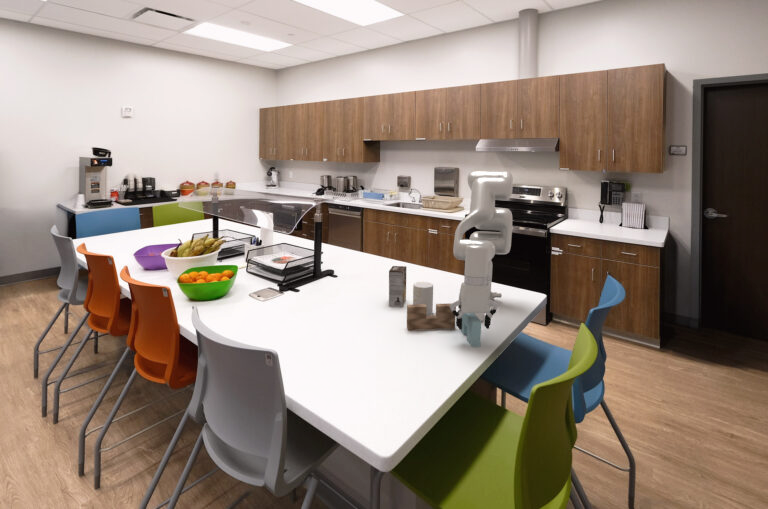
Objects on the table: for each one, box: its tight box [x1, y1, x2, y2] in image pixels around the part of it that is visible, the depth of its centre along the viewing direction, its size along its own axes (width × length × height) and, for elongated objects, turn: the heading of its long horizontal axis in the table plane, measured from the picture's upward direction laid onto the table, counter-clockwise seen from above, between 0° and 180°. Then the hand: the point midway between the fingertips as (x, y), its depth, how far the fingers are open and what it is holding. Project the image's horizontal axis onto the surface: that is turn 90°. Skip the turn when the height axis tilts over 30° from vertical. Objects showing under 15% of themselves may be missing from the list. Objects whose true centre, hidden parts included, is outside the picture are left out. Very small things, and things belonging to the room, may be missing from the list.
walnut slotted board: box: [406, 302, 457, 331], centre depth 167 cm, size 18×3×9 cm, turn 95°
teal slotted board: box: [459, 313, 482, 348], centre depth 158 cm, size 3×16×9 cm, turn 5°
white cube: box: [474, 313, 486, 322], centre depth 176 cm, size 6×6×6 cm
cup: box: [412, 281, 434, 316], centre depth 183 cm, size 8×8×12 cm
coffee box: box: [388, 265, 407, 308], centre depth 193 cm, size 9×6×16 cm
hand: (473, 327), depth 154 cm, fingers open, 9 cm apart
